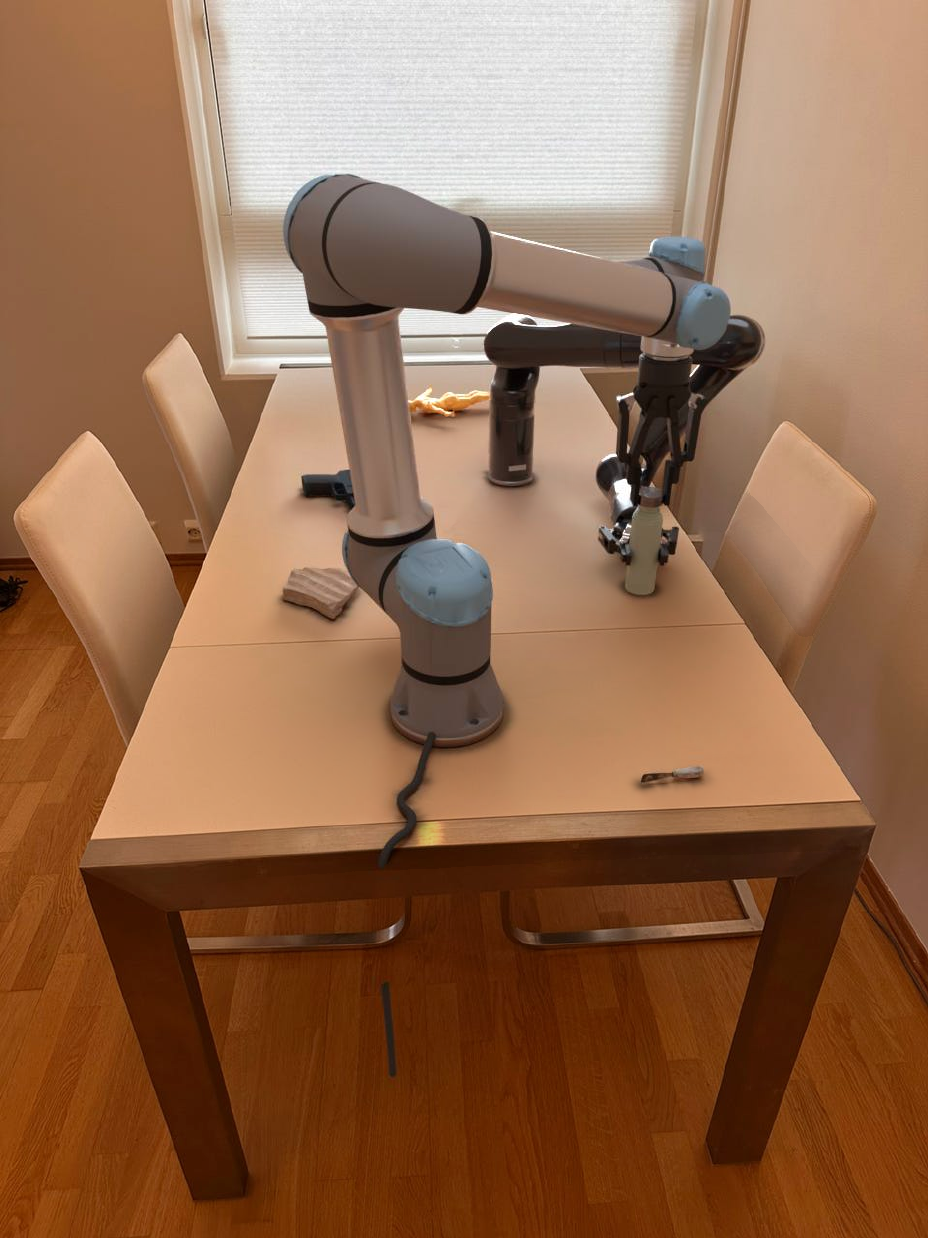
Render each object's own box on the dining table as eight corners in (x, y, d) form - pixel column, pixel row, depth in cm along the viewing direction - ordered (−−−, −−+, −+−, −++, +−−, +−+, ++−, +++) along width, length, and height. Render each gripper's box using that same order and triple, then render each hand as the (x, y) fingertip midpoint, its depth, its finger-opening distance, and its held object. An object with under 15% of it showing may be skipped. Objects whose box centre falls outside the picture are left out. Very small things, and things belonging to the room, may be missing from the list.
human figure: (395, 413, 223) (394, 398, 221) (438, 390, 237) (438, 375, 235) (462, 429, 215) (462, 413, 213) (502, 404, 229) (503, 388, 227)
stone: (371, 585, 150) (370, 572, 149) (335, 620, 141) (334, 607, 139) (304, 572, 154) (303, 559, 153) (266, 605, 145) (264, 591, 144)
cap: (665, 498, 142) (666, 488, 141) (660, 509, 139) (662, 499, 138) (638, 494, 143) (639, 484, 142) (633, 505, 140) (634, 495, 139)
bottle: (656, 583, 151) (668, 490, 142) (651, 597, 147) (663, 502, 138) (628, 578, 152) (637, 486, 143) (622, 592, 148) (632, 498, 139)
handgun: (311, 508, 169) (373, 501, 172) (300, 472, 183) (358, 466, 186) (312, 523, 171) (374, 516, 173) (302, 487, 185) (359, 480, 188)
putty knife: (703, 777, 109) (705, 767, 109) (642, 788, 108) (644, 777, 107) (700, 772, 110) (702, 762, 109) (639, 782, 109) (640, 771, 108)
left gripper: (611, 362, 125) (598, 513, 138) (733, 360, 126) (710, 511, 138) (602, 347, 132) (591, 493, 144) (718, 345, 132) (697, 491, 144)
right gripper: (593, 495, 156) (603, 539, 142) (676, 496, 156) (693, 540, 141) (590, 533, 160) (599, 580, 146) (671, 534, 160) (687, 581, 145)
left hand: (649, 501), depth 141 cm, fingers closed on cap, 4 cm apart
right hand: (645, 560), depth 144 cm, fingers closed on bottle, 5 cm apart
